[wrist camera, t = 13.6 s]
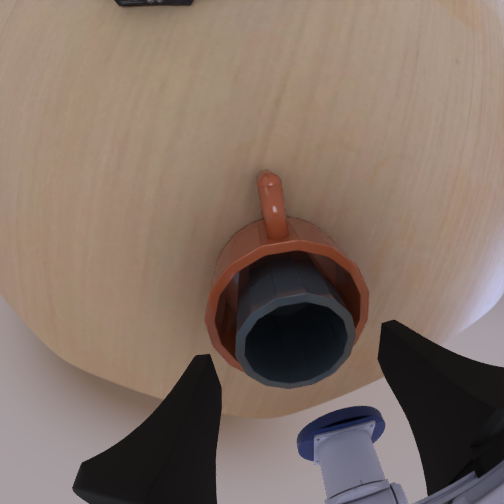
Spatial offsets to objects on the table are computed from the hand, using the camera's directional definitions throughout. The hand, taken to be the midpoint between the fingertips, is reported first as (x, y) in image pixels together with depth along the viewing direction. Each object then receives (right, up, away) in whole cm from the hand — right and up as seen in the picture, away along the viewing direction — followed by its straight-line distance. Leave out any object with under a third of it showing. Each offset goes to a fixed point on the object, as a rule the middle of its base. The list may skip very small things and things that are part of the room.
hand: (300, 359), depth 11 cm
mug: (0, +4, +7) cm, 8 cm away
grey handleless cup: (0, +2, +7) cm, 7 cm away
